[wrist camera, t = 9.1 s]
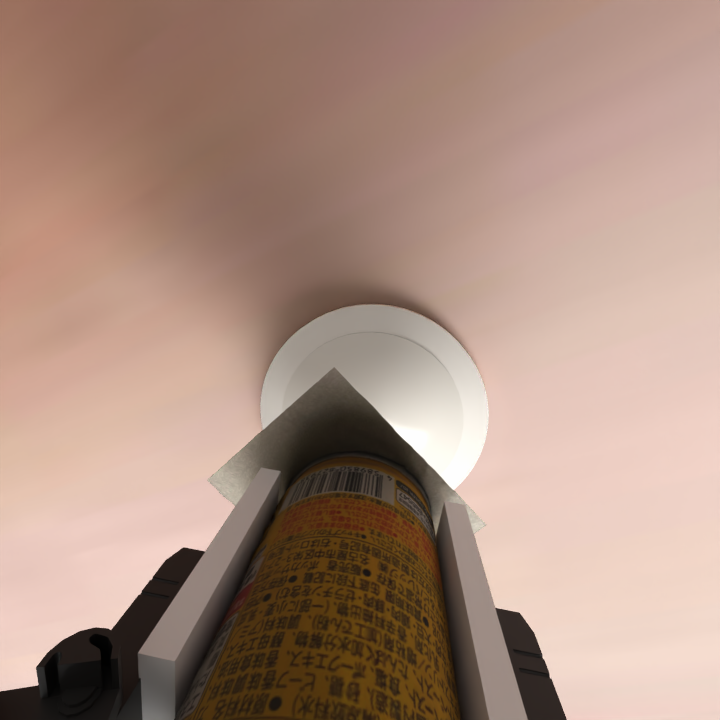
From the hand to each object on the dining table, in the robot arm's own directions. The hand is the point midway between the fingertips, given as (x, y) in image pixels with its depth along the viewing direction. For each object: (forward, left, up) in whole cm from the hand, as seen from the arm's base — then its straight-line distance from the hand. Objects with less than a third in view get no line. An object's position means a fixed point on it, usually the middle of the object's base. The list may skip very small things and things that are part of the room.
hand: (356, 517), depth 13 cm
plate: (0, 0, -10) cm, 10 cm away
